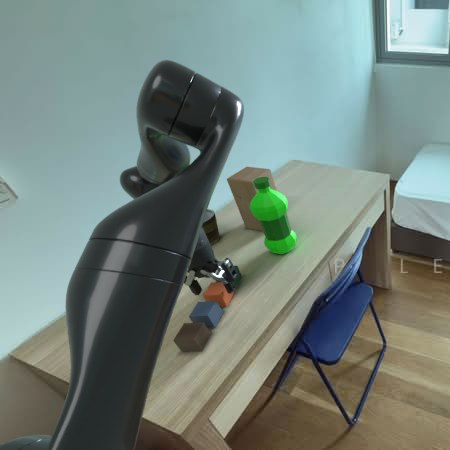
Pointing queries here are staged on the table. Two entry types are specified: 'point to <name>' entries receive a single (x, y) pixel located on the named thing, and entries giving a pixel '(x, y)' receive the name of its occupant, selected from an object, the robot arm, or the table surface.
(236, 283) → the block
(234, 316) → the table surface
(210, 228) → the ceramic cup
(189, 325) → the block
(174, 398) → the table surface
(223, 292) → the block
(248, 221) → the wooden block
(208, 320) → the block
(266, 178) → the plastic bottle
